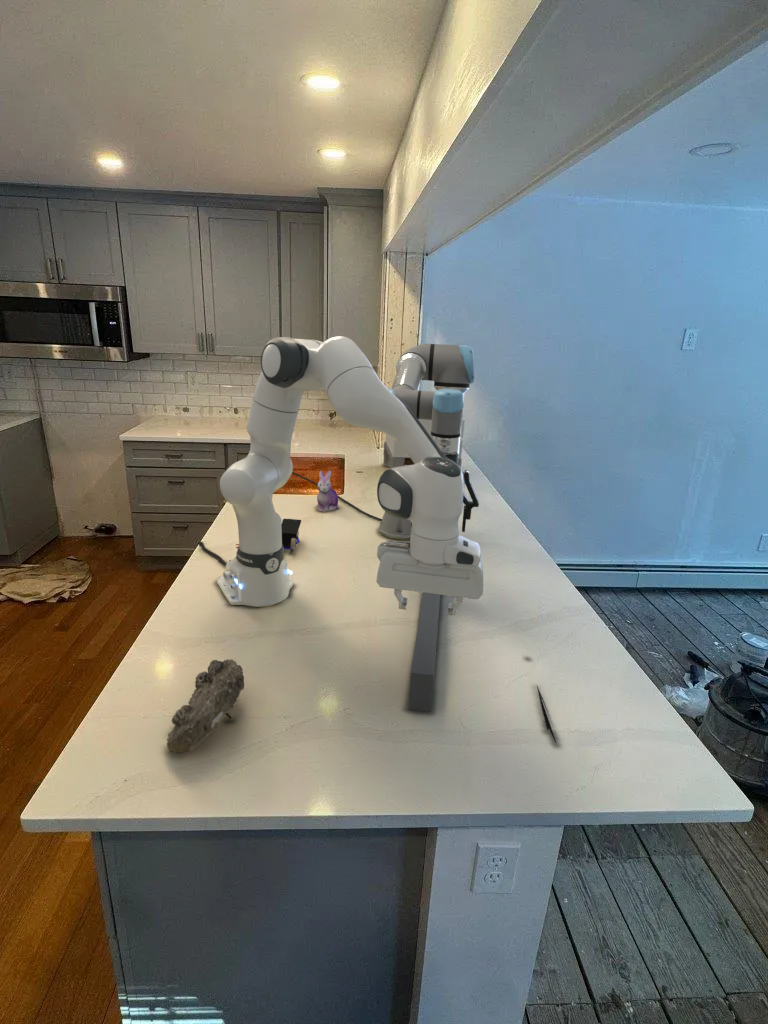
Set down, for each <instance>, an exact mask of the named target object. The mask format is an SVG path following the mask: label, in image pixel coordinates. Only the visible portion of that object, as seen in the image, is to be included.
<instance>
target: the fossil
mask: <svg viewBox="0 0 768 1024" xmlns="http://www.w3.org/2000/svg"><path fill="white" fill-rule="evenodd" d="M243 670H244V669H243V667H242V665H240V664H237V662H236V661H235V660H234V659H232V658H231V659H227V658H226V659H224V660H223V661H222V660H217V659H212V660H211V661H210V663H209V665H208V666H207V671H201V672H199V673H198V674H197V675H196V676H195V680H194V684H195V685H194V687H195V689H194V690H193V693H192V694H191V697H190V698H189V700H188V704H184V705H182V706H181V707H180V709H177V710H176V711H175V713H174V715H173V716H172V718H171V723H172V724H173V727H172V730H171V731H170V732H168V734H167V738H166V741H167V742H166V745H167V749H168V750H169V751H173V752H174V753H176V754H178V753H182V752H188V751H189V752H192V751H193V750H195V748H196V747H197V746H199V744H200V743H201V742H203V741H204V740H205V739H206V738H207V737H208V736H209V735H210V734H211V733H212V732H214V730H215V729H217V727H218V726H219V724H220V722H221V721H222V720H223V719H224V718H225V716H226V717H227V719H229V720H233V717H232V715H230V714H229V710H230V709H231V708H234V706H235V704H236V703H237V702H238V699H239V697H240V695H241V693H242V691H243V690H245V689H244V688H245V675H244V671H243Z"/></svg>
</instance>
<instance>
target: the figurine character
mask: <svg viewBox="0 0 768 1024" xmlns="http://www.w3.org/2000/svg"><path fill="white" fill-rule="evenodd" d="M301 523H302V519H297V518H295V519H294V518H283V519H282V520H281V525H282V544H283V547H284V550H290V551H289V553H290V554H293V552H294V550H296V549H297V545H298V544H300V542H301V541H300V539H299V536H300V531H299V529H300V527H301Z"/></svg>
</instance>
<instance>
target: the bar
mask: <svg viewBox="0 0 768 1024" xmlns="http://www.w3.org/2000/svg"><path fill="white" fill-rule="evenodd" d="M421 593H422V594H421V600H420V607H419V614H418V621H417V628H416V634H415V640H414V641H415V642H414V647H413V649H414V650H413V656H412V661H411V668H410V669H411V670H410V680H409V681H410V682H409V693H408V709H407V710H411V711H419V712H426V713H427V712H428V713H431V712H432V701H433V690H434V689H433V688H434V677H435V666H436V654H437V643H438V642H437V641H438V629H439V616H440V605H441V604H440V603H441V595H440V594H432V593H424V592H421Z"/></svg>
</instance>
